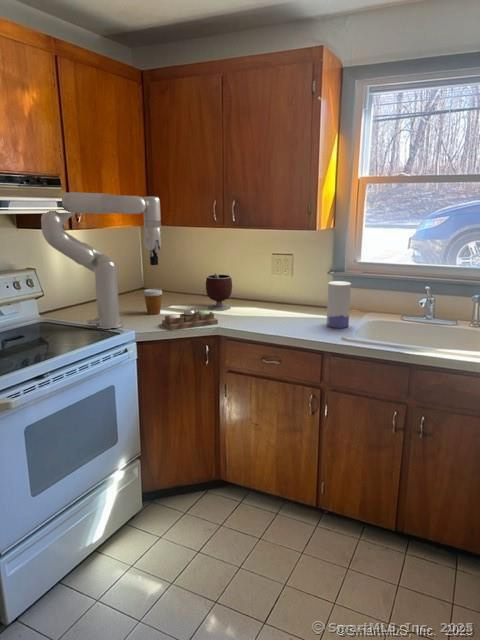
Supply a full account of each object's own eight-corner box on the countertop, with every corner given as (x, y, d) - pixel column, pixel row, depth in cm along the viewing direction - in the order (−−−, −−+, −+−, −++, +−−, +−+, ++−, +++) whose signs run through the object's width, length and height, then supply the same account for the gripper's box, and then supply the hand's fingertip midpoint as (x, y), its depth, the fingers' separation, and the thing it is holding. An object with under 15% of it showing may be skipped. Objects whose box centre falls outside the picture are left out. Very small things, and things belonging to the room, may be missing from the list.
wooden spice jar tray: (171, 330, 211) (171, 320, 210) (162, 324, 221) (161, 314, 220) (217, 323, 222) (217, 314, 221) (206, 318, 232) (206, 309, 231)
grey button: (186, 317, 217) (186, 312, 217) (182, 315, 221) (182, 310, 221) (196, 316, 219) (196, 311, 219) (192, 313, 224) (192, 309, 223)
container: (343, 322, 225) (346, 280, 220) (351, 327, 215) (354, 284, 210) (323, 323, 223) (325, 281, 218) (330, 328, 214) (332, 285, 209)
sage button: (201, 318, 221) (201, 313, 220) (197, 316, 225) (197, 311, 225) (211, 317, 223) (211, 312, 223) (207, 315, 228) (206, 310, 227)
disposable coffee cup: (164, 314, 238) (163, 291, 235) (145, 316, 236) (144, 292, 233) (162, 310, 247) (161, 288, 244) (143, 311, 245) (142, 289, 242)
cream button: (171, 322, 214) (171, 317, 213) (167, 320, 218) (167, 315, 218) (181, 321, 216) (181, 316, 216) (177, 318, 221) (177, 313, 220)
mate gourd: (209, 304, 261) (208, 268, 256) (234, 305, 259) (234, 269, 253) (202, 311, 246) (202, 273, 241) (229, 312, 244) (228, 273, 239)
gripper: (139, 224, 219) (141, 263, 224) (149, 225, 206) (151, 267, 211) (154, 223, 223) (156, 262, 227) (166, 225, 210) (167, 266, 215)
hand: (154, 264), depth 219 cm, fingers closed
